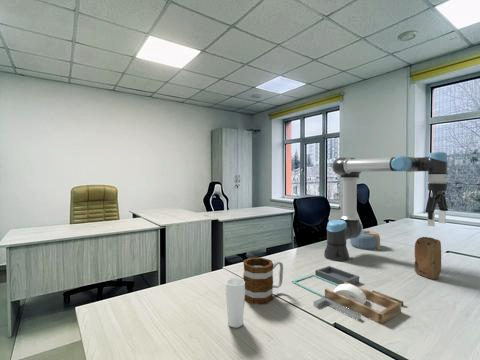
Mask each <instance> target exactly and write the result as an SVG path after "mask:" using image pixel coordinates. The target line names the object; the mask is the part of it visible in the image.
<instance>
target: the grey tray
mask: <svg viewBox="0 0 480 360" xmlns="http://www.w3.org/2000/svg"><path fill="white" fill-rule="evenodd" d="M314 273H315V274H314V275H316V276H319V277H321V278H324V279H326V280H329V281H331V282H334V283H336V284H338V285H341V284H343V282H347V283H350V284H353V285H356V284H358V283H360V276H359V275H356V274H354V273H351V272H348V271H345V270H342V269H339V268H337V267H334V266H331V265H327V266H325V267H321V268H318V269H315V272H314Z"/></svg>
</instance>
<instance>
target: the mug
mask: <svg viewBox="0 0 480 360" xmlns="http://www.w3.org/2000/svg"><path fill="white" fill-rule="evenodd" d="M242 261H243V276H242V277H243V278H242V280H244V281H245V301H244V302H248V303H250V304H252V305H266V304H269V303H270V302H272V301H273V300H274V293H273V289H278V288H280V287H281V286H282V284H283V277H284V276H283V275H284V264H283V262H281V261H279V260H277V261H275V262H273V261H272V259H268V258H264V257H250V258H249V257H248V258H247V259H244V260H242ZM278 265H279V272H278V274H279V276H278V283H277V284H274V271H273V270H274V269H275V268H276V267H277V266H278Z"/></svg>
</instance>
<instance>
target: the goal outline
mask: <svg viewBox="0 0 480 360" xmlns="http://www.w3.org/2000/svg"><path fill="white" fill-rule="evenodd" d="M311 277H315V278H317V279H319V280H321V281H324V282H327V283H329V284H331V285H334V286H336V287H337V286H338V284H336V283H334V282H331V281H329V280H326V279H324V278H321V277H319V276H316V275H315V274H310V275H306V276H304V277H301V278H298V279H294V280H292V281H291V282H292V284H294V285H296V286H298V287H300V288H303V289H305V290H306V291H309V292H311V293H313V294H315V295H318V296H319V297H321V298H323V297H325V294H322V293H320V292H319V291H315V290H313V289H311V288H309V287H307V286H305V285H303V284H301V283H298V282H300V281H303V280H306V279H309V278H311Z"/></svg>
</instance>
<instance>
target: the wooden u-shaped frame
mask: <svg viewBox="0 0 480 360" xmlns="http://www.w3.org/2000/svg"><path fill="white" fill-rule="evenodd" d="M343 284H350V283H347V282H343ZM351 285H353V284H351ZM354 286H356V287H357V288H359V289H360V290H362V292H363V293H364V294H365V296H366V301H369V302H372V303H374V304H376V305H379V306H382V307H384V308H385V309H383V310H382V311H378V310H377V309H374V308H372V307H370V306H367V305H365V304H364V305H363V304H361V303H358V302H356V301H354V300H352V299H349V298H347V297H345V296H343V295H340V294H338V293H336V292H333V291H334V290H331V289H329V288H324V296H325V298H327V299H329V300H332V301H334V302H336V303H338V304H340V305H342V306H344V307H347V308H349V309H351V310H353V311H355V312H357V313H359V314H361V316H363V317H365V318H368V319H369V318H370V320H371V319H372V321H373V320H374V322H376V323H378V324H379V325H384V324H385V323H387V322H388V321H390V320H391V319H393V318H394V317H396V316H397V315H399V314H401V313H402V306H401V303H399V302H397V301H394V300H392V299H389V298H386V297H384V296H381V295H379V294H376V293H373V292H372V290H367V289H365V288H363V287H360V286H358V285H356V284H354Z"/></svg>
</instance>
